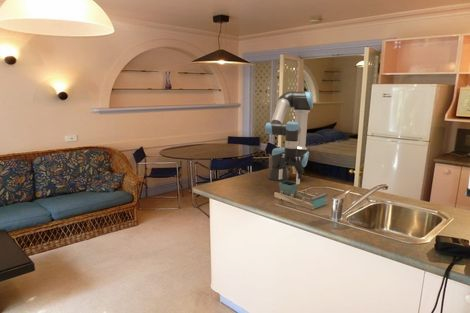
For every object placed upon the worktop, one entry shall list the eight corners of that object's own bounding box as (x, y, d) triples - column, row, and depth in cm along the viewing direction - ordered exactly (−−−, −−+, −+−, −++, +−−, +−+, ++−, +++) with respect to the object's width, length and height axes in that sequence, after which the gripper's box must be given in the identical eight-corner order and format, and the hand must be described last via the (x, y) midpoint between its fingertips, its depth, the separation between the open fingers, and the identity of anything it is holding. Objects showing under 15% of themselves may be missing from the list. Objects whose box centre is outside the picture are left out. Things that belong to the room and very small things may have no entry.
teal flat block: (323, 203, 200) (324, 193, 198) (326, 204, 198) (327, 194, 197) (309, 208, 190) (309, 198, 188) (312, 209, 188) (312, 199, 187)
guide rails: (289, 192, 218) (289, 185, 217) (326, 204, 198) (327, 196, 197) (274, 197, 208) (274, 189, 207) (312, 209, 188) (312, 201, 187)
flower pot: (297, 197, 210) (298, 183, 208) (289, 200, 204) (290, 185, 202) (286, 193, 216) (287, 180, 214) (278, 196, 209) (278, 182, 208)
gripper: (271, 145, 210) (269, 178, 214) (304, 151, 192) (301, 187, 196) (279, 144, 215) (277, 176, 219) (312, 150, 197) (309, 184, 201)
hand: (288, 181), depth 207 cm, fingers open, 13 cm apart
